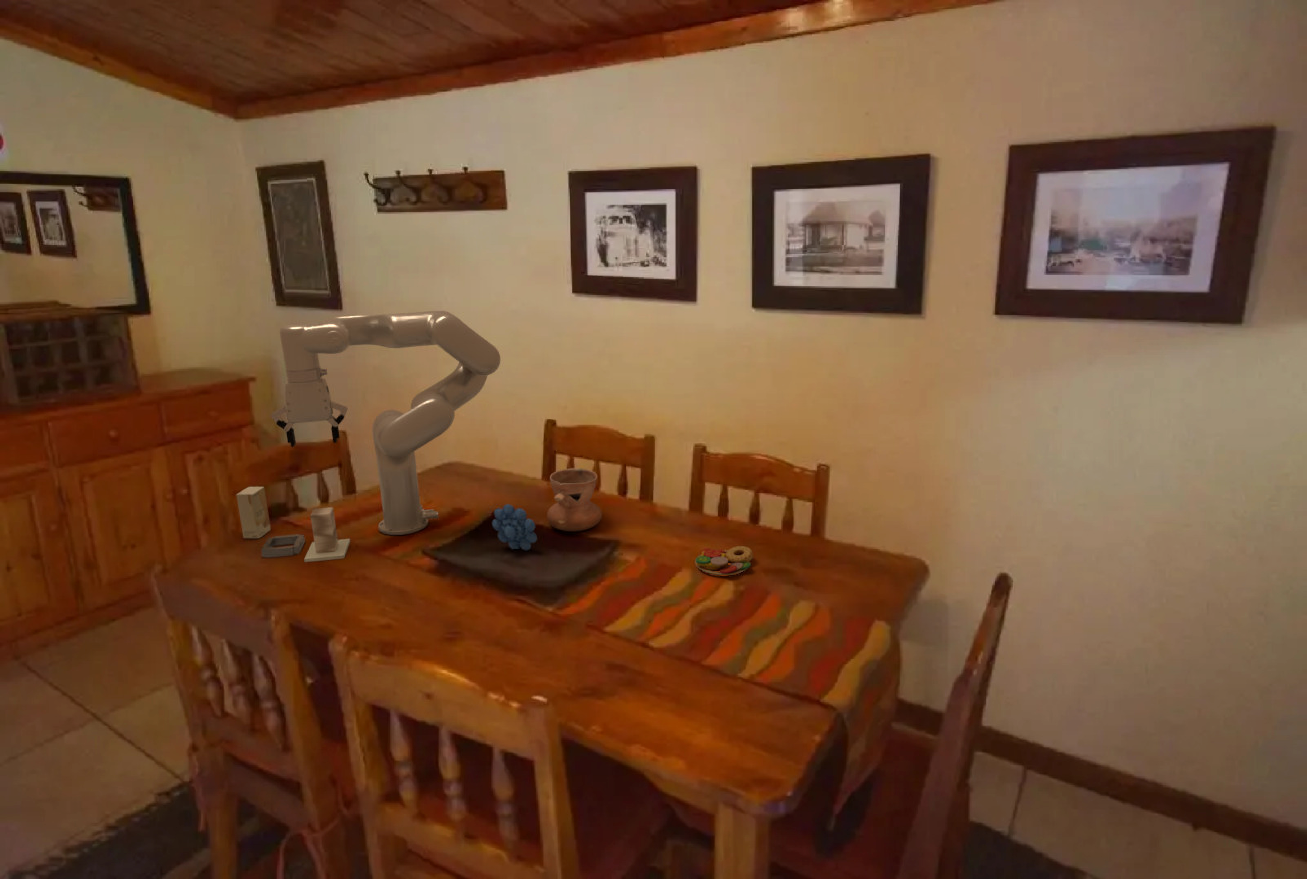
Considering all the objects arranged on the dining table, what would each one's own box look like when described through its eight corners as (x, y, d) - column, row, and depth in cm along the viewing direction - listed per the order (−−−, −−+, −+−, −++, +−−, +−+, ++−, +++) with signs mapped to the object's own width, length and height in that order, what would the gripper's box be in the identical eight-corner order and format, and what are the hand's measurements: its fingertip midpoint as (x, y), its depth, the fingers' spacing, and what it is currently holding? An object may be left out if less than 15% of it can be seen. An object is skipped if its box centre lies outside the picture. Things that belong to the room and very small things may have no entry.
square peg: (338, 544, 193) (332, 507, 190) (335, 551, 188) (329, 513, 185) (319, 545, 192) (314, 508, 189) (316, 553, 188) (310, 515, 185)
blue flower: (486, 554, 188) (482, 509, 184) (498, 543, 194) (495, 499, 190) (530, 559, 185) (527, 513, 181) (541, 548, 191) (538, 503, 188)
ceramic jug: (583, 542, 194) (582, 489, 190) (534, 532, 200) (532, 481, 196) (615, 517, 210) (614, 468, 206) (568, 509, 216) (567, 461, 212)
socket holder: (305, 540, 197) (304, 533, 196) (298, 554, 189) (297, 547, 188) (270, 544, 195) (268, 536, 194) (261, 558, 187) (260, 550, 186)
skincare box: (259, 538, 198) (252, 494, 194) (243, 539, 198) (235, 494, 194) (272, 528, 204) (264, 485, 201) (255, 528, 204) (248, 485, 201)
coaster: (350, 541, 196) (349, 538, 196) (344, 558, 187) (343, 555, 186) (312, 545, 194) (312, 542, 194) (304, 562, 185) (304, 559, 184)
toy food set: (755, 558, 185) (756, 545, 184) (747, 583, 173) (747, 569, 172) (701, 552, 189) (701, 540, 188) (689, 576, 177) (689, 563, 176)
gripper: (343, 369, 191) (352, 435, 196) (267, 375, 186) (278, 442, 191) (341, 375, 184) (350, 443, 189) (262, 381, 179) (274, 451, 184)
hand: (314, 443), depth 190 cm, fingers open, 9 cm apart
